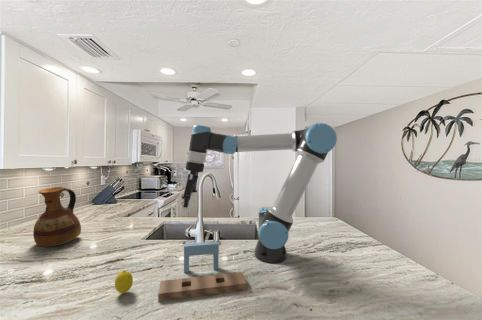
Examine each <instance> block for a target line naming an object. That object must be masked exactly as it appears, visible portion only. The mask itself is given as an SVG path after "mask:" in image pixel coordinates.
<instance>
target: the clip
mask: <svg viewBox="0 0 482 320" xmlns="http://www.w3.org/2000/svg"><path fill="white" fill-rule="evenodd" d="M219 244H220V243H219V241H217V240H216V241H215V240H214V241H205V242H204V241H202V242H191V243H184V244H183V274H188V273H190V257H192V256H203V255H204V256H205V255H212V270H213V271H216V270H217V271H218V270H219V254H220V252H219V250H220V249H219V247H220V246H219Z"/></svg>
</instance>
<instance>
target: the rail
mask: <svg viewBox="0 0 482 320" xmlns="http://www.w3.org/2000/svg"><path fill="white" fill-rule="evenodd" d="M244 290H245V291H247V290H248V281H247V280H246V278H245V276H244V274H243V272H231V273H222V274H212V275H202V276H194V277H185V278H184V277H183V278H175V279H167V280H166V279H165V280H160V284H159V289H158V293H157V294H158V295H157V298H158V299H157V301H158V302H163V301H172V300H180V299H186V298H187V299H188V298H189V299H190V298H195V297H204V296H210V295H219V294H220V295H221V294H227V293H228V294H229V293H234V292H241V291H242V292H243V291H244Z"/></svg>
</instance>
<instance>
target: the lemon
mask: <svg viewBox="0 0 482 320" xmlns="http://www.w3.org/2000/svg"><path fill="white" fill-rule="evenodd" d="M133 280H134V279H133V275H132V273H131V272H130V271H128V270H122V271H121V272H119V273H118V274H117V275H116V277H115V280H114V287H115V290H116V292H117V293H120V294H123V295H124V294H126V293H127V292H129V291H130V290H131V288H132V286H133V284H134V283H133Z"/></svg>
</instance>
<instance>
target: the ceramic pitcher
mask: <svg viewBox="0 0 482 320" xmlns="http://www.w3.org/2000/svg"><path fill="white" fill-rule="evenodd" d="M63 192H68V194H69V203H68V205H67V207H64V206H62V203H61V194H62V193H63ZM38 193H39V194H40V195H42V196H43V198H44V204H45V210H44V212H43V213H41V214H40V216H39V217H38V218H37V219H36V221H35V223H34V226H33V234H32V235H33V240H34V242H35V244H36V245H37V246H38V247H54V246H59V245H63V244H66V243H68V242H70V241H72V240H75V239H76V238H78V237H79V236H80V235H81V233H82V225H81V223H80V219H79V217H78V216H77V215H76V214H75V213H74V208H75V204H76V201H77V195H76V193H75V191H74V190H72V189H71V188H67V187H64V186H56V187H55V186H53V187H50V188H49V187H48V188H44V189H40V190H39V191H38Z"/></svg>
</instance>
